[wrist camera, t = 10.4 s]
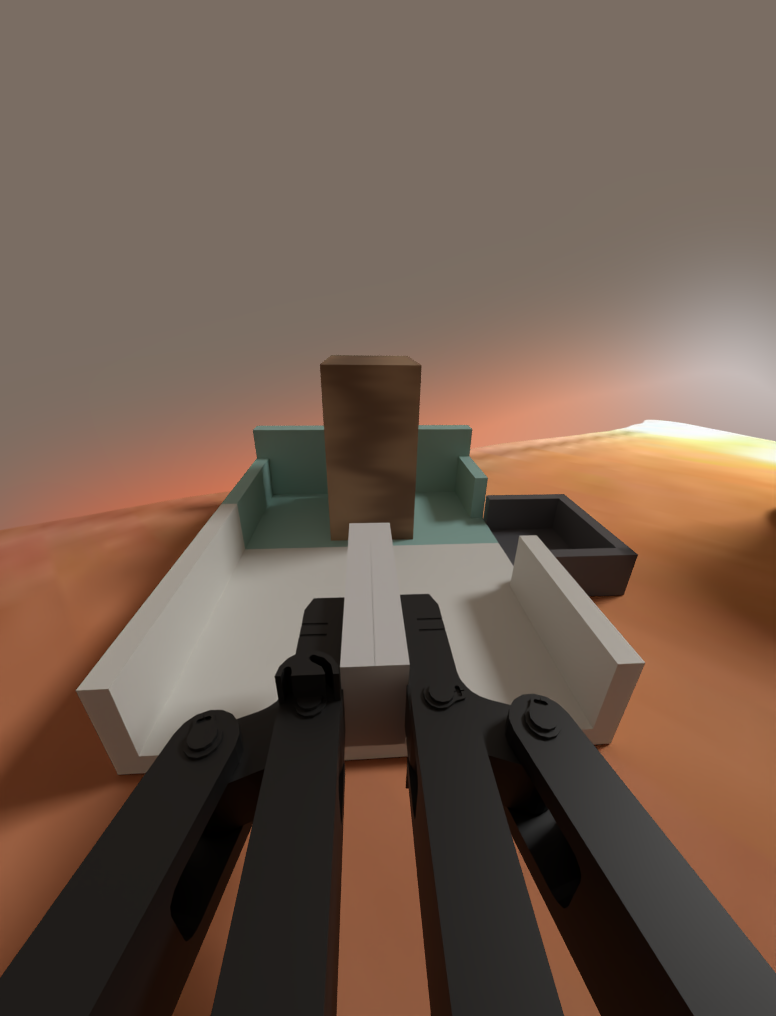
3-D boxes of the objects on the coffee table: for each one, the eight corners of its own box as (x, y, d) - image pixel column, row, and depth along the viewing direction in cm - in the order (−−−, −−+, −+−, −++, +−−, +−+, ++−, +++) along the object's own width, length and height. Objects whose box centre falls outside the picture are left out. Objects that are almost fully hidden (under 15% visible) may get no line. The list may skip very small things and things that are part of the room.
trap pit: (556, 526, 32) (563, 494, 30) (623, 594, 24) (637, 554, 22) (481, 528, 31) (486, 495, 30) (524, 598, 23) (533, 557, 22)
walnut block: (403, 495, 35) (407, 356, 30) (413, 539, 28) (421, 365, 22) (338, 496, 34) (331, 355, 29) (330, 540, 27) (319, 364, 22)
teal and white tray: (460, 494, 38) (467, 425, 35) (610, 743, 15) (669, 606, 12) (267, 497, 36) (257, 426, 33) (118, 774, 14) (45, 630, 11)
